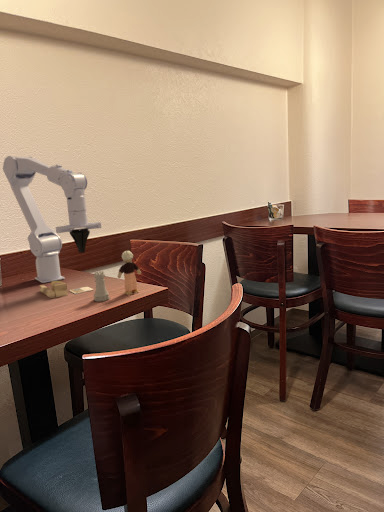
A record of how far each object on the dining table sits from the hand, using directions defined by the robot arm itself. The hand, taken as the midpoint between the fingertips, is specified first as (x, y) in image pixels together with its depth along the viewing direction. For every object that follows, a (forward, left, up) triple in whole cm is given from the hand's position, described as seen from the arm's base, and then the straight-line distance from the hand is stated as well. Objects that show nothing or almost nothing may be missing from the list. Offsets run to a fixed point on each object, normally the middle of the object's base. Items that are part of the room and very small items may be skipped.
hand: (81, 252), depth 133 cm
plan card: (+9, -5, -10) cm, 14 cm away
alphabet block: (+3, -10, -11) cm, 15 cm away
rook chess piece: (+23, -4, -11) cm, 26 cm away
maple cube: (+9, -11, -10) cm, 17 cm away
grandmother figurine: (+23, +5, -11) cm, 26 cm away
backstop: (+5, -14, -10) cm, 18 cm away
